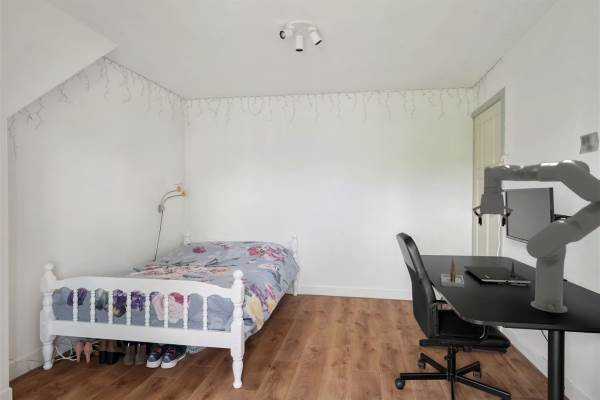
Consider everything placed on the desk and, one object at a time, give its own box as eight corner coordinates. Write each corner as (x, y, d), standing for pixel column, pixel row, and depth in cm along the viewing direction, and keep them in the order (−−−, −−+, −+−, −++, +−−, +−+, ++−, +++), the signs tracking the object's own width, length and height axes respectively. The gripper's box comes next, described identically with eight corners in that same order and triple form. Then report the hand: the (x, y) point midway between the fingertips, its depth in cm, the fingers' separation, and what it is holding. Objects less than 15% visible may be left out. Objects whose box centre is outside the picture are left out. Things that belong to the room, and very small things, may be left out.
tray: (464, 288, 170) (464, 283, 170) (441, 285, 175) (441, 281, 175) (462, 279, 187) (462, 275, 187) (441, 277, 191) (441, 273, 191)
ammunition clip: (454, 283, 175) (455, 261, 175) (451, 283, 176) (451, 261, 176) (454, 279, 185) (454, 258, 185) (450, 278, 186) (450, 257, 185)
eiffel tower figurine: (498, 284, 179) (498, 260, 179) (495, 280, 189) (495, 257, 188) (530, 287, 174) (531, 262, 173) (526, 283, 183) (526, 259, 183)
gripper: (511, 191, 162) (510, 226, 162) (472, 191, 169) (471, 224, 169) (514, 191, 155) (513, 227, 155) (473, 191, 162) (472, 225, 162)
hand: (491, 225), depth 162 cm, fingers open, 9 cm apart
